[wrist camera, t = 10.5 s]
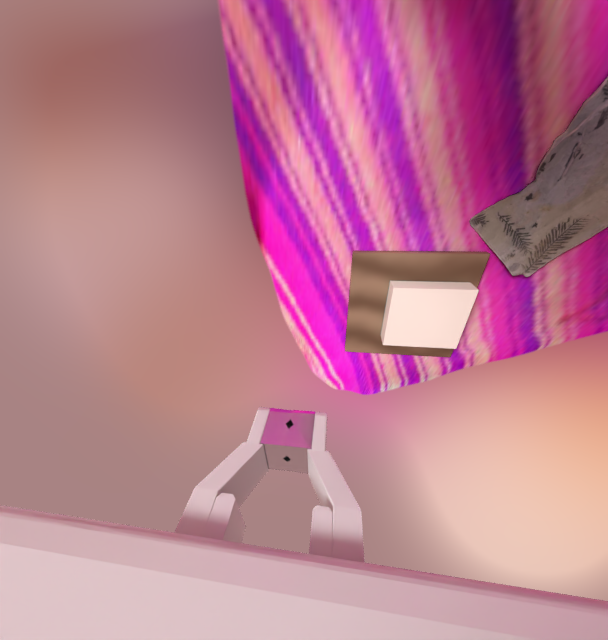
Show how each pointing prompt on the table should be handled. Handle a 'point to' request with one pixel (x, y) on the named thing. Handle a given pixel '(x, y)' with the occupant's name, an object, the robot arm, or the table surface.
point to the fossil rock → (555, 196)
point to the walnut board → (386, 266)
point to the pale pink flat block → (426, 313)
